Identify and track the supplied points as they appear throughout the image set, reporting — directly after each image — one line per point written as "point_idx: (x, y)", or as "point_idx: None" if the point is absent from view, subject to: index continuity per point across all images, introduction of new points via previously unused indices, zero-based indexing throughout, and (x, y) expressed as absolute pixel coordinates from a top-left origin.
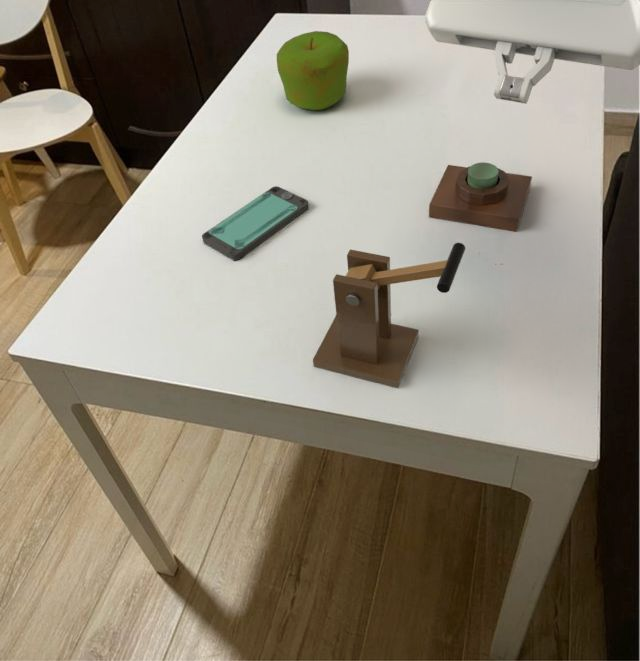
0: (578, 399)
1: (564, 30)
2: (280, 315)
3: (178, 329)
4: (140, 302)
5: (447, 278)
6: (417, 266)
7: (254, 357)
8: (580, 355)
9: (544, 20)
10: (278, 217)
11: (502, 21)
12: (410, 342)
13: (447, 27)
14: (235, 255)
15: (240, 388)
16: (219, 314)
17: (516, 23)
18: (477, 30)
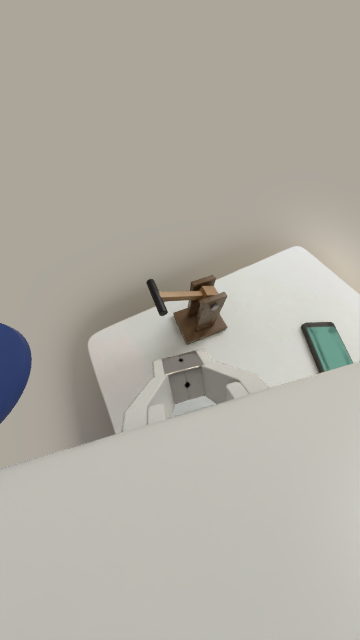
0: (100, 361)
1: (62, 500)
2: (247, 313)
3: (270, 282)
4: (298, 282)
5: (150, 283)
6: (178, 295)
7: (233, 291)
8: (109, 389)
9: (170, 506)
10: (325, 363)
11: (324, 414)
12: (184, 333)
13: None
14: (303, 324)
15: (222, 279)
16: (267, 297)
17: (272, 432)
18: (346, 368)
